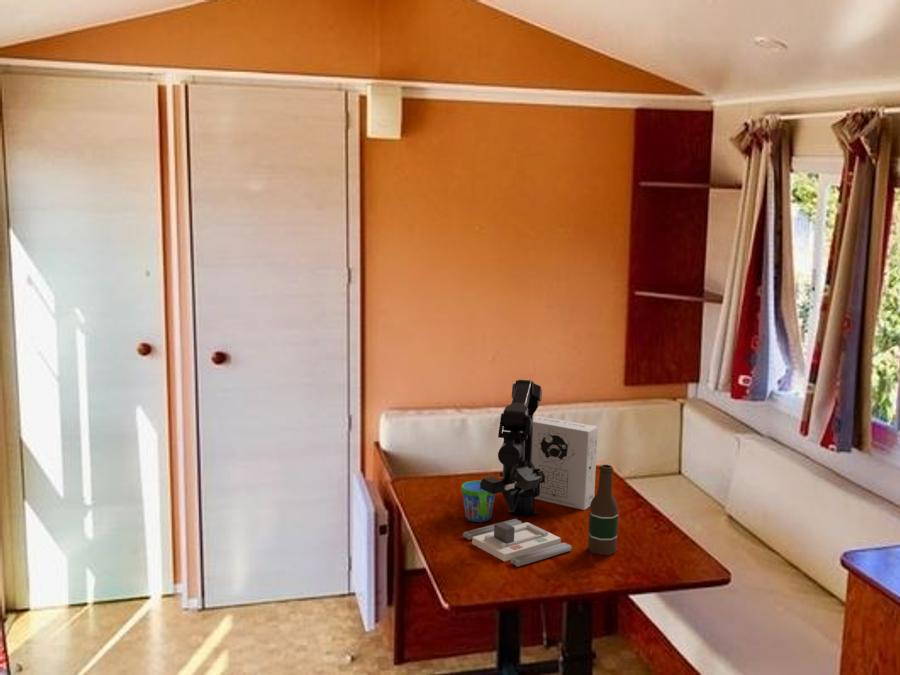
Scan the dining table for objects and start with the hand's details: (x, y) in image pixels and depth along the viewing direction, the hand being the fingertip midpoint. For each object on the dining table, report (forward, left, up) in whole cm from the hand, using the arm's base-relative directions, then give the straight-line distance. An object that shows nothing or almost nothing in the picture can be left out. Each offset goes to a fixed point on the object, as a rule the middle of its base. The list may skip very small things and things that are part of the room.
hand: (512, 510), depth 245 cm
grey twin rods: (-2, 0, -10) cm, 11 cm away
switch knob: (+2, 0, -8) cm, 8 cm away
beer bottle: (-19, +16, -11) cm, 27 cm away
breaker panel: (-2, 0, -10) cm, 11 cm away
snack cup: (-5, -21, -11) cm, 24 cm away
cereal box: (-36, -20, -11) cm, 43 cm away
